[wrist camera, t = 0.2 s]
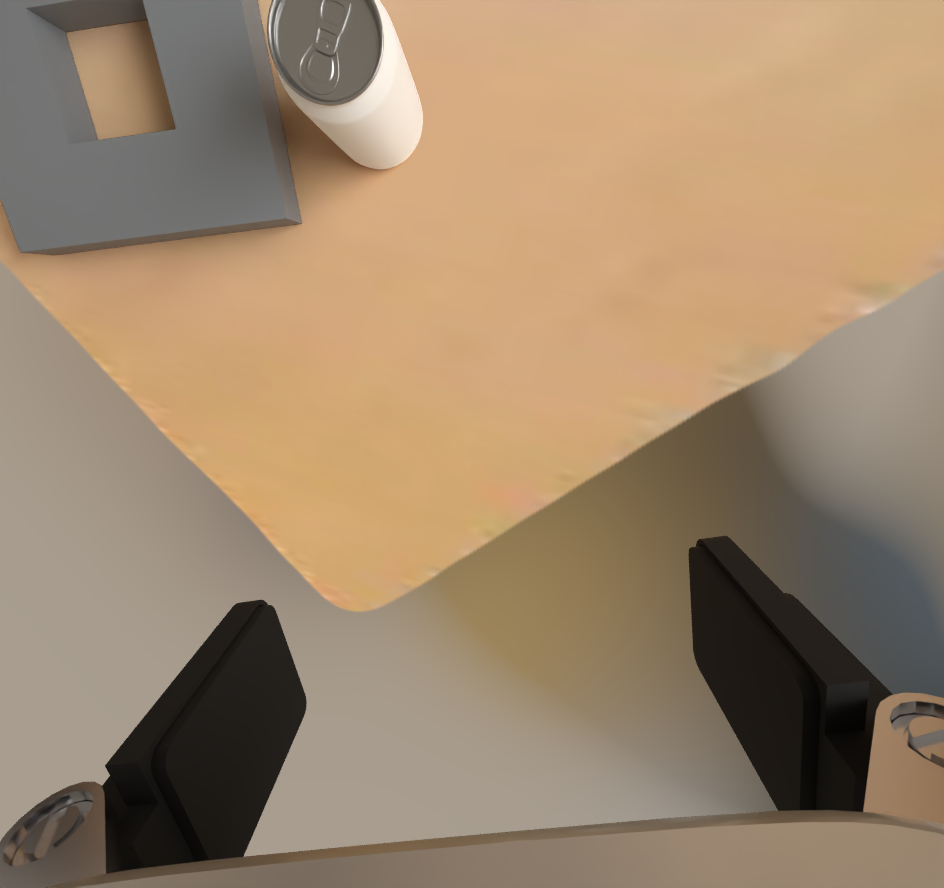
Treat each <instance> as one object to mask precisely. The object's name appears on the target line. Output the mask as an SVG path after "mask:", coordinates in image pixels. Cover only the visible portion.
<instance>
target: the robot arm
mask: <svg viewBox="0 0 944 888" xmlns="http://www.w3.org/2000/svg"><path fill="white" fill-rule="evenodd" d="M689 572H690V591H691V609H692V610H691V613H692V634H693V651H694V656H695V660H696V663H697V666H698V667H699V670H700V671H701V673H702V675H703V677H704V679H705V680H706V682H707V684H708V686H709V688H710V689H711V691H712V693H713V695H714V696H715V698H716V700H717V702H718V704H719V706H720V707H721V709H722V711H723V712H724V714H725V716H726V718H727V720H728V722H729V723H730V725H731V727H732V729H733V731H734V732H735V734H736V736H737V738H738V739H739V741H740V743H741V745H742V747H743V748H744V750H745V752H746V754H747V756H748V757H749V759H750V761H751V763H752V765H753V766H754V768H755V770H756V772H757V774H758V775H759V777H760V779H761V781H762V782H763V784H764V786H765V788H766V790H767V791H768V793H769V795H770V797H771V799H772V800H773V802H774V804H775V806H776V808H777V809H778V811H766V812H751V813H736V814H721V815H706V816H691V817H676V818H663V819H651V820H640V821H628V822H616V823H605V824H593V825H581V826H569V827H558V828H547V829H535V830H523V831H512V832H501V833H490V834H479V835H468V836H457V837H446V838H434V839H424V840H414V841H402V842H391V843H381V844H370V845H360V846H349V847H338V848H328V849H319V850H308V851H298V852H288V853H278V854H267V855H257V856H247V857H243V856H244V853H245V851H246V849H247V847H248V844H249V842H250V840H251V837H252V835H253V833H254V830H255V828H256V826H257V824H258V821H259V819H260V817H261V814H262V812H263V810H264V807H265V805H266V803H267V800H268V798H269V796H270V793H271V791H272V789H273V787H274V784H275V782H276V780H277V777H278V775H279V773H280V770H281V768H282V766H283V763H284V761H285V759H286V756H287V754H288V752H289V749H290V747H291V745H292V742H293V740H294V738H295V736H296V733H297V731H298V729H299V726H300V724H301V722H302V719H303V717H304V714H305V711H306V696H305V693H304V690H303V687H302V684H301V681H300V678H299V676H298V673H297V670H296V668H295V664H294V662H293V659H292V656H291V653H290V650H289V647H288V645H287V642H286V639H285V636H284V633H283V630H282V628H281V625H280V622H279V619H278V616H277V614H276V611H275V609H274V607H273V606H271V605H268V604H267V603H266V602H265V601H264V600H256V601H249V602H242V603H237V604H235V605H234V606H233V607H232V609H231V610H230V611H229V612H228V613H227V615H226V616H225V617H224V618H223V620H222V621H221V622H220V623H219V625H218V626H217V627H216V628H215V630H214V631H213V632H212V634H211V635H210V636H209V637H208V639H207V640H206V641H205V642H204V644H203V645H202V646H201V647H200V648H199V650H198V651H197V652H196V653H195V655H194V656H193V657H192V658H191V659H190V661H189V662H188V663H187V664H186V666H185V667H184V668H183V670H182V671H181V672H180V673H179V674H178V676H177V677H176V678H175V679H174V681H173V682H172V683H171V684H170V686H169V687H168V688H167V689H166V691H165V692H164V693H163V694H162V696H161V697H160V698H159V699H158V700H157V702H156V703H155V704H154V705H153V707H152V708H151V709H150V710H149V712H148V713H147V714H146V716H145V717H144V718H143V719H142V720H141V722H140V723H139V724H138V725H137V727H136V728H135V729H134V730H133V732H132V733H131V734H130V735H129V737H128V738H127V739H126V740H125V741H124V743H123V744H122V745H121V746H120V748H119V749H118V750H117V751H116V753H115V754H114V755H113V756H112V758H111V759H110V760H109V761H108V763H107V764H106V765H105V767H106V768H107V770H108V772H109V774H110V777H109V778H108V779H107V780H106V782H105V783H104V784H103V786H102V785H100V784H98V783H96V782H81V783H78V784H75V785H71V786H69V787H66V788H64V789H62V790H60V791H58V792H56V793H54V794H52V795H51V796H49V797H48V798H46V799H45V800H43V801H42V802H40V803H39V804H37V805H36V806H35V807H34V808H32V809H31V810H30V811H29V812H27V813H26V814H25V815H24V816H23V817H21V818H20V819H19V820H18V822H16V823H15V824H14V825H13V827H12V828H11V829H10V830H9V831H8V832H7V833H6V834H5V836H4V837H3V838H2V840H1V841H0V888H944V698H940V697H936V696H931V695H927V694H918V693H901V694H896V695H893V694H892V693H891V692H890V691H889V690H888V689H887V688H886V687H885V686H884V685H883V684H882V683H881V682H880V681H879V680H878V679H877V678H876V677H875V676H874V675H873V674H872V673H871V672H870V671H869V670H868V669H867V668H866V667H865V666H864V665H863V664H862V663H861V662H860V661H859V660H858V659H857V658H856V657H855V656H854V655H853V654H852V653H851V652H850V651H849V650H848V649H847V648H846V647H845V646H844V645H843V644H842V643H841V642H840V641H839V640H838V639H837V638H836V637H835V636H834V635H833V634H832V633H831V632H830V631H829V630H828V629H827V628H826V627H825V626H824V625H823V624H822V623H821V622H820V621H819V620H818V619H817V618H816V617H815V616H814V615H813V614H811V612H810V611H809V610H808V609H807V608H805V606H803V604H802V603H801V602H800V601H799V600H798V599H796V598H795V597H794V596H792V595H791V594H787V593H783V592H782V591H781V590H780V589H779V588H778V587H777V586H776V585H775V584H774V583H773V582H772V581H771V580H770V579H769V578H768V577H767V576H766V575H765V574H764V573H763V572H762V571H761V570H760V568H759V567H757V565H756V564H755V563H754V562H753V561H751V559H750V558H749V557H748V556H747V555H746V554H745V553H744V552H743V551H742V550H741V549H740V548H739V547H738V546H737V545H736V544H735V543H734V542H733V541H732V540H731V539H730V538H729V537H728V536H720V537H713V538H705V539H699V540H698V541H697V544H696V547H691V548H690V549H689Z"/></svg>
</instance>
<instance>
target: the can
mask: <svg viewBox="0 0 944 888" xmlns="http://www.w3.org/2000/svg"><path fill="white" fill-rule="evenodd" d="M267 36H268V44H269V48H270V52H271V56H272V59H273V61H274V64H275V66H276V69H277V73H278V75H279V78H280V80H281V83H282V85H283V86H284V88H285V90H286V92H287V93H288V95H289V96H290V97H291V99H292V100H293V101H294V103H295V104H296V105H297V106H298V107H299V108H300V109H301V110H302V111H303V112H304V113H305V114H306V115H307V116H308V117H309V118H310V119H311V120H312V121H313V122H314V123H315V124H316V125H317V126H318V127H319V128H320V129H321V130H322V131H323V132H324V133H325V134H326V135H327V136H328V137H329V138H330V139H331V140H332V141H333V142H334V143H335V144H336V145H337V146H338V147H340V148H341V149H342V150H343V151H344V152H345V153H346V154H347V155H348V156H349V157H350V158H351V159H353V160H354V161H355V162H357V163H359V164H360V165H363V166H365V167H368V168H373V169H389V168H392V167H395V166H397V165H399V164H401V163H402V162H404V161H405V160H406V159H407V158H408V157H409V156H410V155H411V154H412V153H413V151H414V150H415V148H416V146H417V144H418V142H419V139H420V136H421V132H422V126H423V113H422V107H421V102H420V99H419V96H418V93H417V90H416V87H415V84H414V81H413V78H412V75H411V73H410V70H409V67H408V64H407V61H406V59H405V56H404V53H403V50H402V48H401V45H400V42H399V39H398V37H397V34H396V31H395V29H394V26H393V24H392V22H391V19H390V17H389V15H388V13H387V11H386V10H385V8H384V6H383V5H382V3H381V2H380V1H379V0H272V2H271V6H270V9H269V14H268V22H267Z"/></svg>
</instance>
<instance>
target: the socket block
mask: <svg viewBox="0 0 944 888" xmlns="http://www.w3.org/2000/svg"><path fill="white" fill-rule="evenodd" d="M146 19H148V23H149V27H150V31H151V35H152V38H153V42H154V46H155V50H156V54H157V58H158V62H159V66H160V69H161V73H162V77H163V81H164V85H165V89H166V93H167V97H168V100H169V104H170V108H171V112H172V116H173V120H174V124H175V128H176V129H173V130H166V131H159V132H152V133H145V134H138V135H131V136H124V137H117V138H110V139H103V140H98V138H97V135H96V131H95V128H94V125H93V122H92V118H91V115H90V112H89V108H88V105H87V102H86V98H85V95H84V92H83V88H82V85H81V82H80V79H79V75H78V72H77V69H76V65H75V62H74V59H73V55H72V52H71V49H70V45H69V42H68V39H67V36H66V32H70V31H76V30H83V29H89V28H95V27H102V26H108V25H114V24H121V23H127V22H133V21H140V20H146ZM0 199H1V202H2V205H3V207H4V210H5V213H6V215H7V218H8V221H9V224H10V226H11V229H12V232H13V234H14V237H15V240H16V243H17V245H18V248H19V251H20V252H21V253H34V254H47V255H61V254H68V253H76V252H84V251H92V250H100V249H108V248H115V247H123V246H131V245H139V244H147V243H155V242H163V241H170V240H178V239H186V238H194V237H202V236H210V235H217V234H225V233H233V232H241V231H249V230H257V229H264V228H272V227H280V226H288V225H296V224H302V221H301V216H300V211H299V206H298V201H297V196H296V191H295V186H294V181H293V176H292V171H291V166H290V161H289V156H288V151H287V146H286V141H285V136H284V131H283V126H282V121H281V116H280V111H279V106H278V101H277V96H276V91H275V86H274V81H273V76H272V71H271V66H270V61H269V56H268V51H267V46H266V40H265V35H264V30H263V25H262V20H261V15H260V10H259V5H258V0H0Z"/></svg>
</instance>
